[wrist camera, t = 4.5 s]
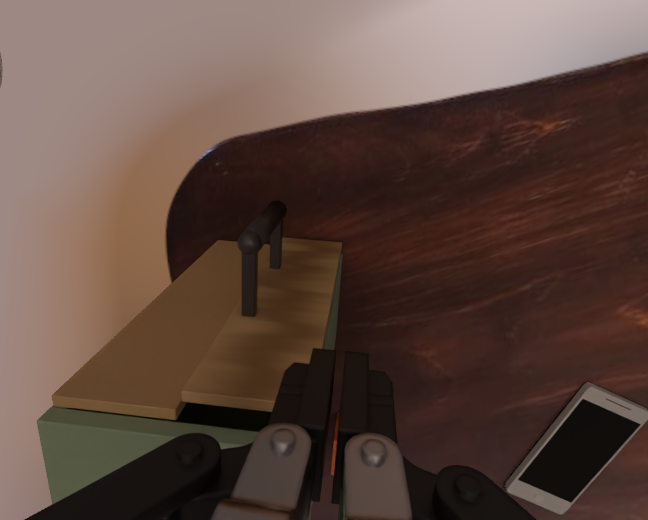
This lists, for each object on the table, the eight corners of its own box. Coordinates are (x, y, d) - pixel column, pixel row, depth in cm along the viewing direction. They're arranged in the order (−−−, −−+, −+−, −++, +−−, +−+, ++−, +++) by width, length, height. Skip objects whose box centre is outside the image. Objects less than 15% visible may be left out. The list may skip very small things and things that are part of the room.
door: (280, 243, 42) (181, 402, 20) (281, 181, 40) (174, 281, 18) (341, 248, 42) (310, 417, 20) (346, 186, 40) (318, 295, 18)
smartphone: (503, 485, 50) (505, 492, 50) (586, 380, 45) (590, 386, 44) (559, 509, 51) (562, 516, 50) (648, 408, 46) (653, 414, 45)
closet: (221, 324, 47) (63, 566, 23) (220, 236, 44) (33, 409, 19) (336, 336, 46) (298, 600, 22) (343, 247, 43) (309, 442, 19)
